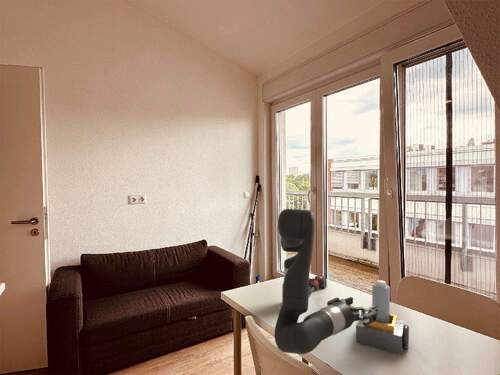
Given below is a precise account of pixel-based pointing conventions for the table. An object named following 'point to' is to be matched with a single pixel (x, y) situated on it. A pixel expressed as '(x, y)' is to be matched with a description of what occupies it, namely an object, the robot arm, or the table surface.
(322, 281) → the valve
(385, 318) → the light blue bottle
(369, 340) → the gold-trimmed base block
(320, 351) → the table surface
